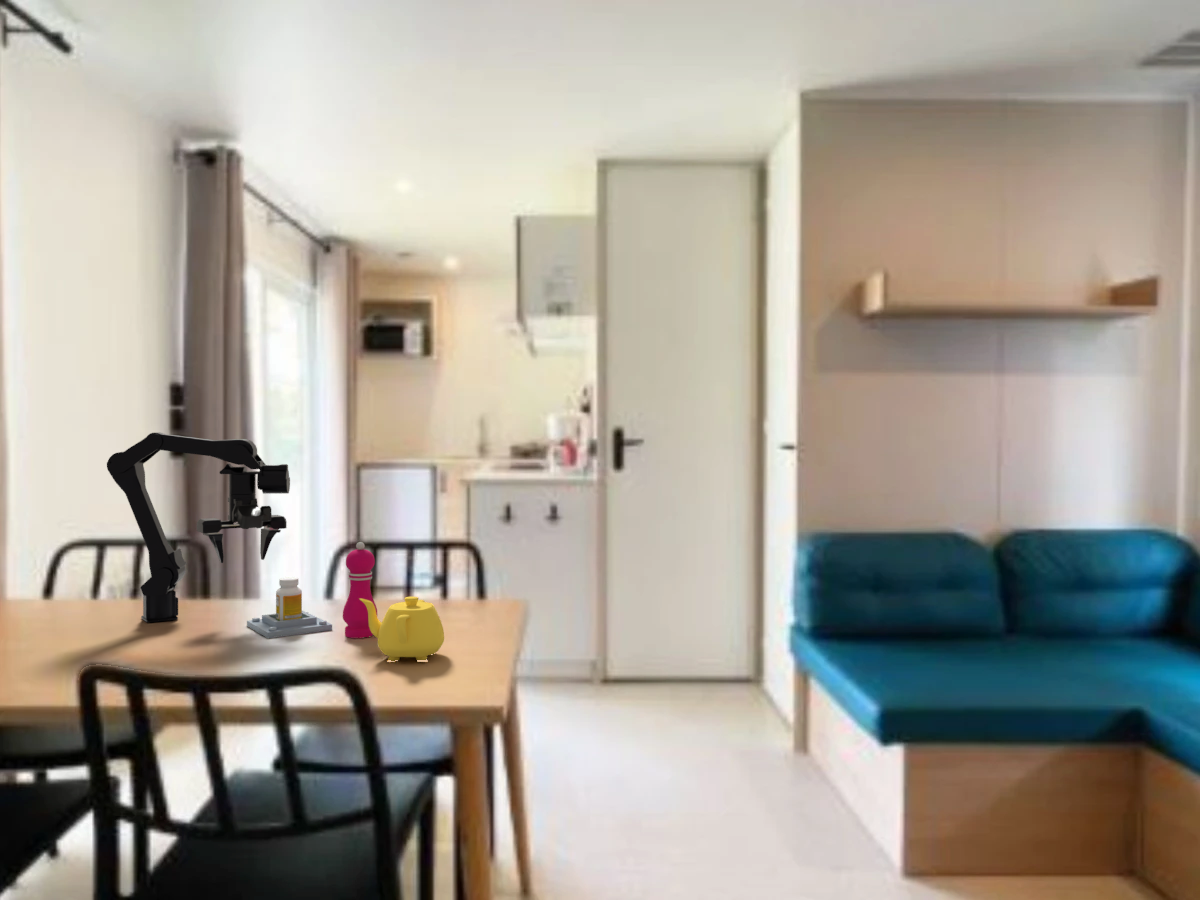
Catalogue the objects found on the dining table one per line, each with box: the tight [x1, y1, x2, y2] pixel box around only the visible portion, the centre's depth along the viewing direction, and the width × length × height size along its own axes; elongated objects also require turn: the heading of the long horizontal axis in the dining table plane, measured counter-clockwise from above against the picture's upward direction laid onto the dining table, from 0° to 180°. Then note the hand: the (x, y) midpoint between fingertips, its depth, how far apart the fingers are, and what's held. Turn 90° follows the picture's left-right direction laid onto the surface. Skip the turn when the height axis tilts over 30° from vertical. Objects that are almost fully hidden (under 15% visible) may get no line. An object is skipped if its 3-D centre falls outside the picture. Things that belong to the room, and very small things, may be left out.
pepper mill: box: [342, 541, 378, 639], centre depth 202 cm, size 7×7×20 cm
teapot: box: [360, 596, 445, 661], centre depth 184 cm, size 14×14×12 cm
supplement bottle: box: [275, 576, 303, 621], centre depth 208 cm, size 5×5×10 cm
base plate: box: [246, 610, 333, 639], centre depth 208 cm, size 14×14×3 cm
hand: (242, 561), depth 218 cm, fingers open, 9 cm apart
